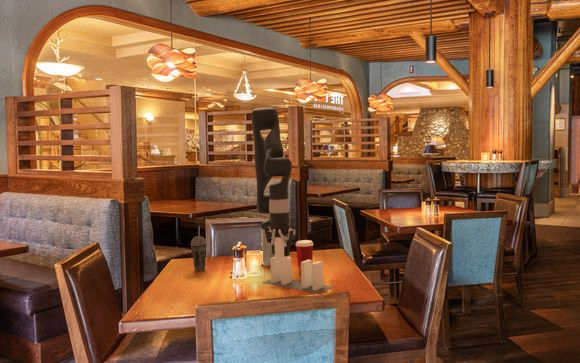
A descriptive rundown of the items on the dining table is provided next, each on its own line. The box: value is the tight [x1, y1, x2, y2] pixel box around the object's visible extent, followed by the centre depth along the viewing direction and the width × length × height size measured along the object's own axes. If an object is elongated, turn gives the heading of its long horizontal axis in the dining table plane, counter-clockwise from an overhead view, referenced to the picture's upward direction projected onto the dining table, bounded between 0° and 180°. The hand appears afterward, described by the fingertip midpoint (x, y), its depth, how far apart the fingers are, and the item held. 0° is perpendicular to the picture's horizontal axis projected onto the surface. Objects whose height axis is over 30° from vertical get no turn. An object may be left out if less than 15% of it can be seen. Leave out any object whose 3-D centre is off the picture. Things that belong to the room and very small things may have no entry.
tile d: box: [300, 259, 313, 288], centre depth 197 cm, size 2×5×10 cm, turn 143°
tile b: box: [280, 256, 293, 285], centre depth 203 cm, size 2×5×10 cm, turn 143°
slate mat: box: [261, 279, 334, 294], centre depth 200 cm, size 28×10×1 cm, turn 53°
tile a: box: [270, 257, 281, 283], centre depth 206 cm, size 2×5×10 cm, turn 143°
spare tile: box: [274, 236, 289, 262], centre depth 193 cm, size 2×5×10 cm, turn 53°
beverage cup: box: [190, 225, 208, 272], centre depth 231 cm, size 7×7×20 cm
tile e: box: [312, 260, 324, 290], centre depth 194 cm, size 2×5×10 cm, turn 143°
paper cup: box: [294, 239, 314, 275], centre depth 218 cm, size 8×8×14 cm
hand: (281, 254), depth 194 cm, fingers closed on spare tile, 5 cm apart
